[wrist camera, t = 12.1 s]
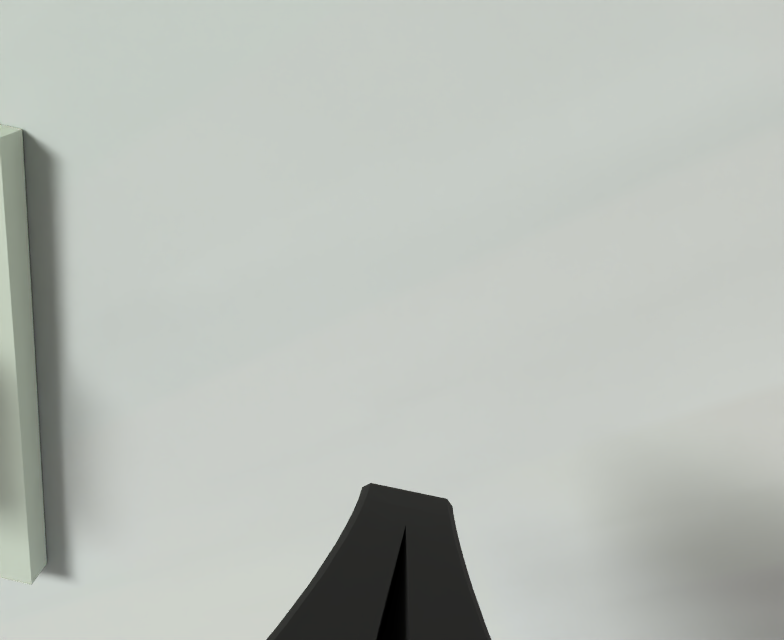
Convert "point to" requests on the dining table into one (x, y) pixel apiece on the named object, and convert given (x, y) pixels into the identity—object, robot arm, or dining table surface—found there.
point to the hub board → (18, 380)
